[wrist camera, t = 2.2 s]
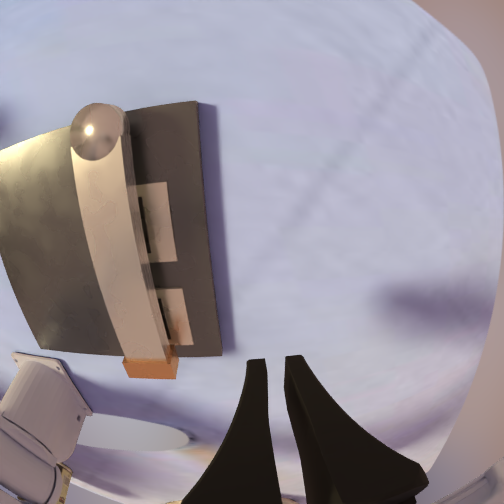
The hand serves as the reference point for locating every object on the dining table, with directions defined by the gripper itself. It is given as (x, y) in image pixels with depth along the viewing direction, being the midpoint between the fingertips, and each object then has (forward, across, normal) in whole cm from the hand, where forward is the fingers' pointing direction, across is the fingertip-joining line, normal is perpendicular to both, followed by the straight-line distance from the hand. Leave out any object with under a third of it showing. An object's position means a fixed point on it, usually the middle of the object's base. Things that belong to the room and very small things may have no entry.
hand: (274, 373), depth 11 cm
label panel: (+9, +12, -2) cm, 15 cm away
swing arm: (+7, +8, -3) cm, 11 cm away
